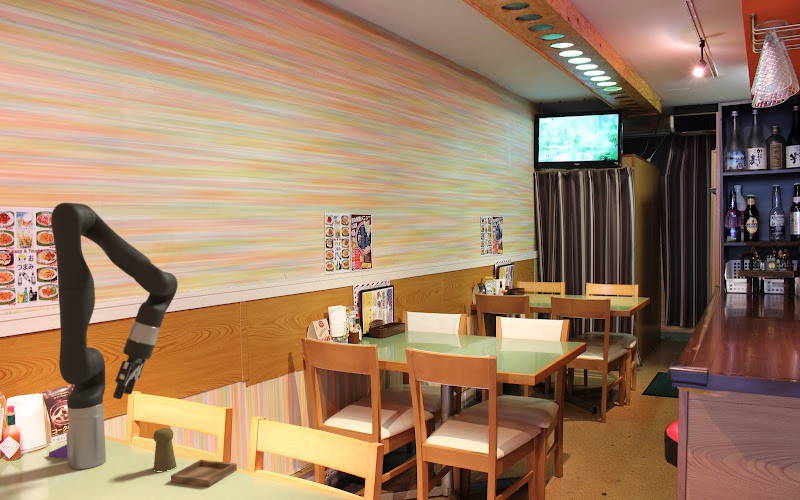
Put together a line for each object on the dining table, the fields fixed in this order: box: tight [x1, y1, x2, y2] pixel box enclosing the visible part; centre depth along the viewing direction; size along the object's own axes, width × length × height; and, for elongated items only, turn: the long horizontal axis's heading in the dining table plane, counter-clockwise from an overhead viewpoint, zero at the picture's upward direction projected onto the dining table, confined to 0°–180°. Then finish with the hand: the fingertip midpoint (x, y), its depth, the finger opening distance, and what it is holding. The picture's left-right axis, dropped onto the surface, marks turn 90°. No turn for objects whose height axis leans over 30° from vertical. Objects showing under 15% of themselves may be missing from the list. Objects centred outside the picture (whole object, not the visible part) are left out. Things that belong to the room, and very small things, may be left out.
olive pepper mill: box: [153, 427, 177, 472], centre depth 175 cm, size 6×6×11 cm
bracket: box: [48, 444, 68, 459], centre depth 190 cm, size 12×7×7 cm, turn 74°
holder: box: [170, 459, 238, 488], centre depth 168 cm, size 12×12×2 cm
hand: (122, 395), depth 174 cm, fingers open, 8 cm apart
